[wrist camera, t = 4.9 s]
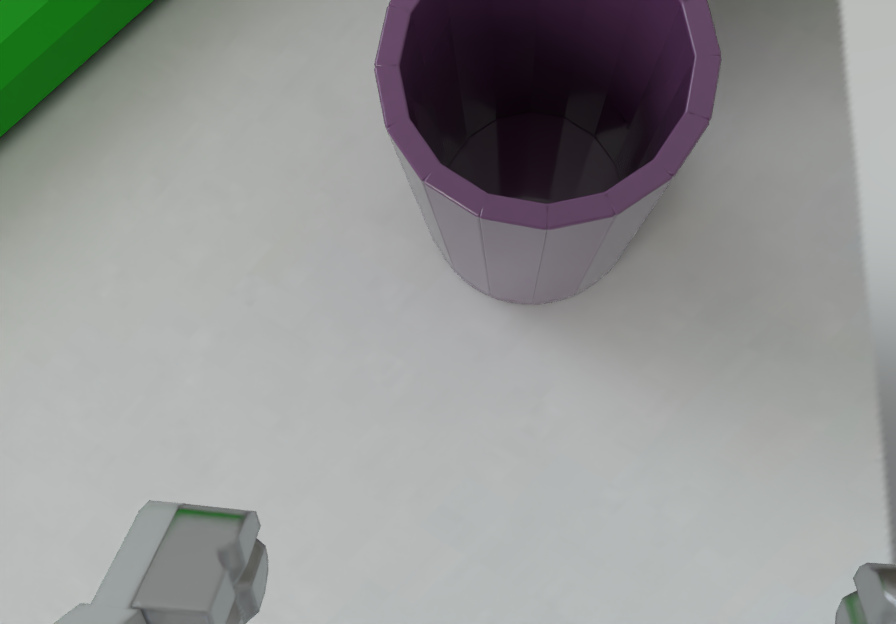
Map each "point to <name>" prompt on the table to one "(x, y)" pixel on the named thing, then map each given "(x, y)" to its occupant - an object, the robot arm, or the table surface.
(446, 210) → the plum tumbler
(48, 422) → the table surface
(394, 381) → the table surface
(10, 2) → the book
